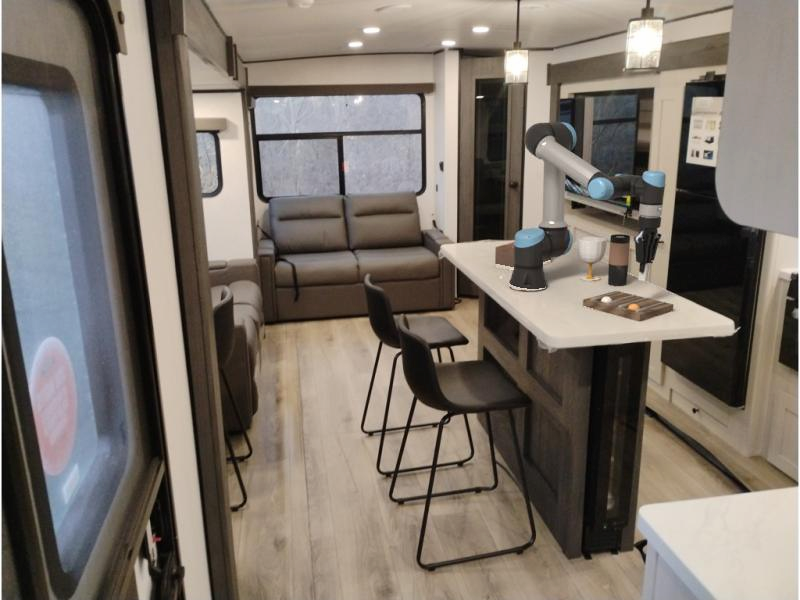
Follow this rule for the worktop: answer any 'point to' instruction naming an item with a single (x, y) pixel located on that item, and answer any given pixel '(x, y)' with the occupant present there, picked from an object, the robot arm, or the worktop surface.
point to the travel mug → (618, 259)
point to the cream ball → (606, 299)
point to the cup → (591, 251)
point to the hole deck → (623, 301)
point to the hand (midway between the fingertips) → (642, 280)
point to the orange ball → (634, 307)
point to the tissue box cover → (507, 255)
